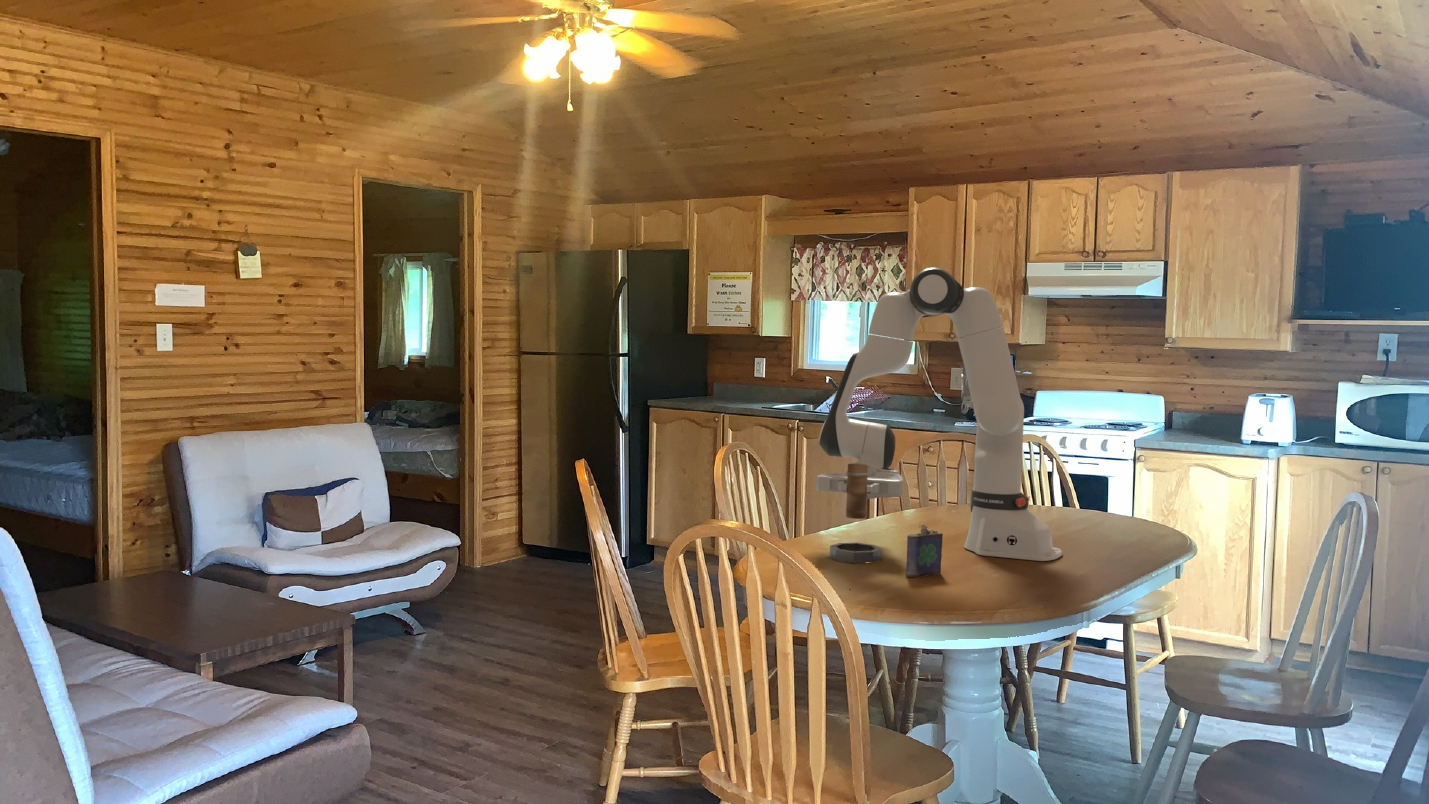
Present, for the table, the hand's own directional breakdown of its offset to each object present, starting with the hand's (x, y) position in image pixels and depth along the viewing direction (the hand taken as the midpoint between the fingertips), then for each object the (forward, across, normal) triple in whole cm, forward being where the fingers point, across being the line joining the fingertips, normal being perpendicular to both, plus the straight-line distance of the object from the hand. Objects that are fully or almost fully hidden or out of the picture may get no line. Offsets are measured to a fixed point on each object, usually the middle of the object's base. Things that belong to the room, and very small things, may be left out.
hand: (856, 489), depth 242 cm
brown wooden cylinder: (-1, 0, +6) cm, 7 cm away
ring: (-1, 0, +16) cm, 16 cm away
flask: (+11, +16, +16) cm, 25 cm away
